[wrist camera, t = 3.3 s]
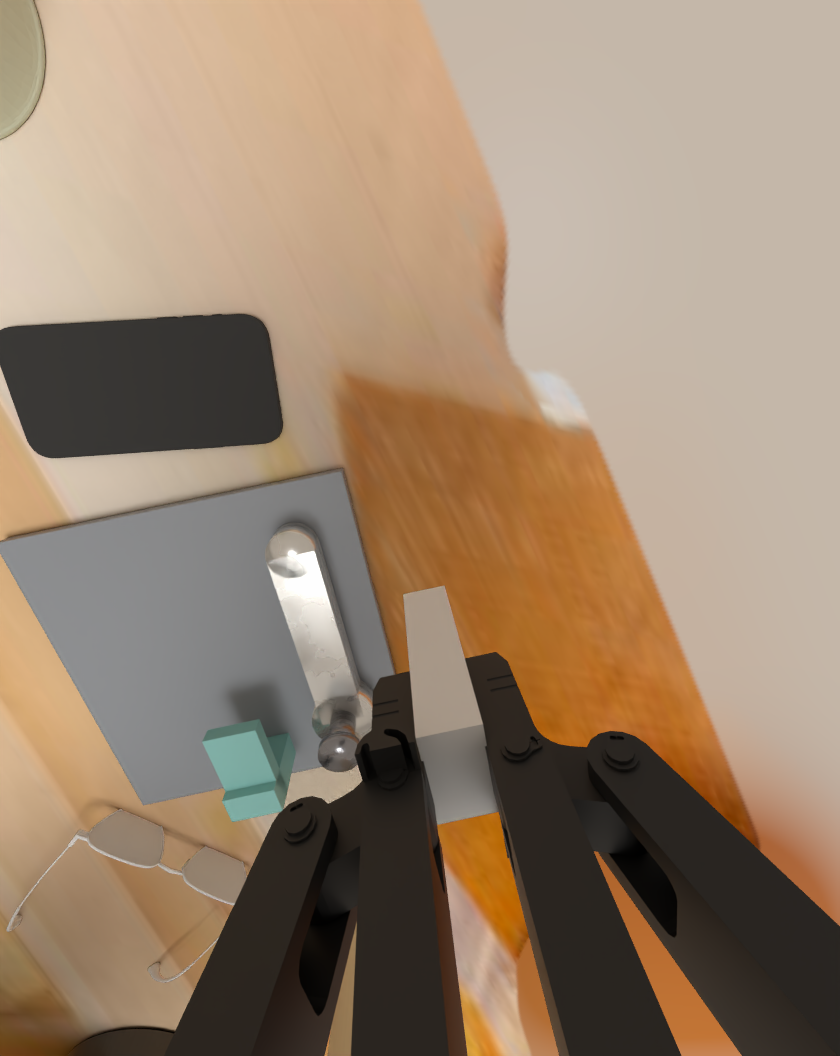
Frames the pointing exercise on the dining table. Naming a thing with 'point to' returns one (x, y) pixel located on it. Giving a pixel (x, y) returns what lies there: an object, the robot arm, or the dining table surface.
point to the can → (19, 63)
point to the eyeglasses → (158, 863)
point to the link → (320, 644)
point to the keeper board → (199, 634)
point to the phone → (142, 384)
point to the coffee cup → (344, 1009)
